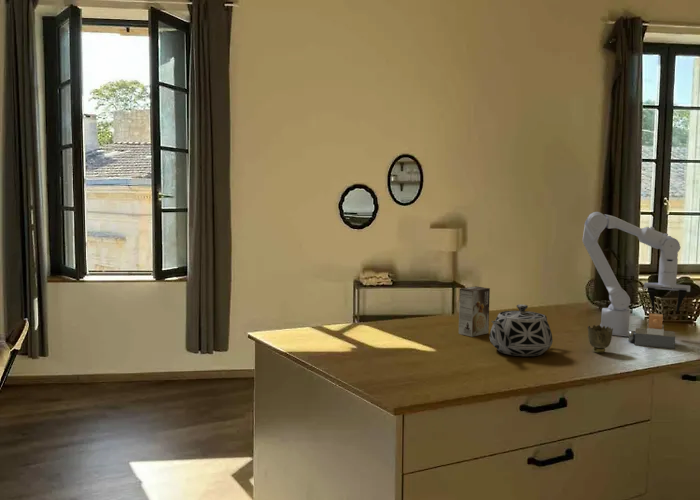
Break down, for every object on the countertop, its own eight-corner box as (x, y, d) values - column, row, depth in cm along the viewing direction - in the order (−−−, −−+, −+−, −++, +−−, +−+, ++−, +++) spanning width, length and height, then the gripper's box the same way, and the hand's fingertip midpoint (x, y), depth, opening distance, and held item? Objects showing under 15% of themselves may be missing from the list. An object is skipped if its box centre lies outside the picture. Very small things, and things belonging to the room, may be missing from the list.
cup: (599, 356, 218) (600, 330, 217) (581, 350, 224) (582, 326, 223) (616, 353, 221) (618, 328, 220) (598, 348, 228) (599, 324, 227)
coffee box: (474, 330, 252) (476, 285, 250) (488, 333, 247) (490, 288, 245) (457, 333, 246) (459, 288, 244) (472, 337, 241) (473, 290, 239)
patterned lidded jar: (464, 354, 217) (465, 306, 215) (518, 340, 238) (520, 296, 237) (518, 367, 203) (520, 315, 202) (570, 350, 225) (572, 303, 223)
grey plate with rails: (628, 344, 234) (629, 326, 234) (628, 339, 242) (629, 321, 242) (674, 349, 229) (675, 330, 228) (673, 343, 237) (674, 325, 236)
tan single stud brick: (648, 334, 232) (649, 316, 231) (648, 330, 237) (649, 313, 236) (661, 335, 230) (662, 317, 230) (661, 332, 235) (662, 314, 235)
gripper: (645, 271, 243) (642, 310, 245) (691, 274, 237) (689, 314, 239) (645, 269, 250) (642, 307, 251) (690, 272, 244) (688, 310, 245)
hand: (665, 310), depth 245 cm, fingers open, 7 cm apart
